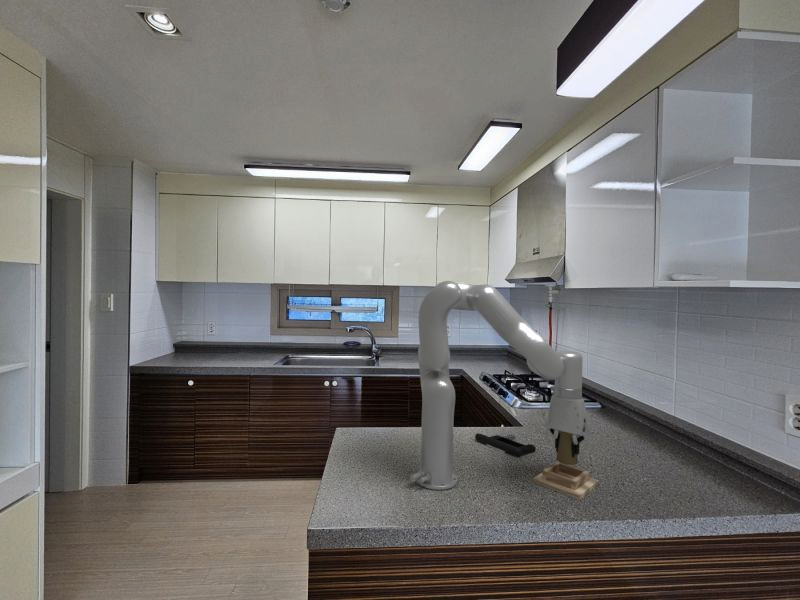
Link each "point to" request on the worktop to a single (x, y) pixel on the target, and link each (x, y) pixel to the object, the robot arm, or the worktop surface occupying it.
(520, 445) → the door handle
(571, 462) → the olive tall rounded piece
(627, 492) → the worktop surface
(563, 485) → the holder
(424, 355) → the robot arm
